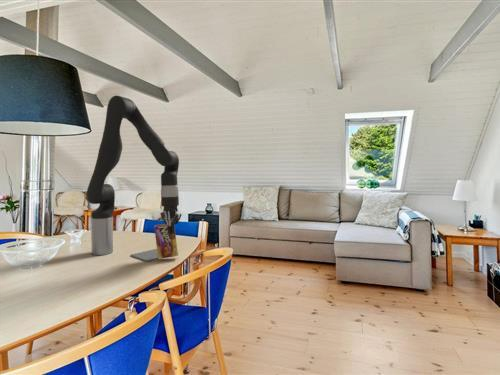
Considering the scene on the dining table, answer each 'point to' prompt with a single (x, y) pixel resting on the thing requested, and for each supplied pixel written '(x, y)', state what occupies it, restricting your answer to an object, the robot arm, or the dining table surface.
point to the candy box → (165, 242)
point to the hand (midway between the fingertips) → (171, 233)
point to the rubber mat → (147, 255)
